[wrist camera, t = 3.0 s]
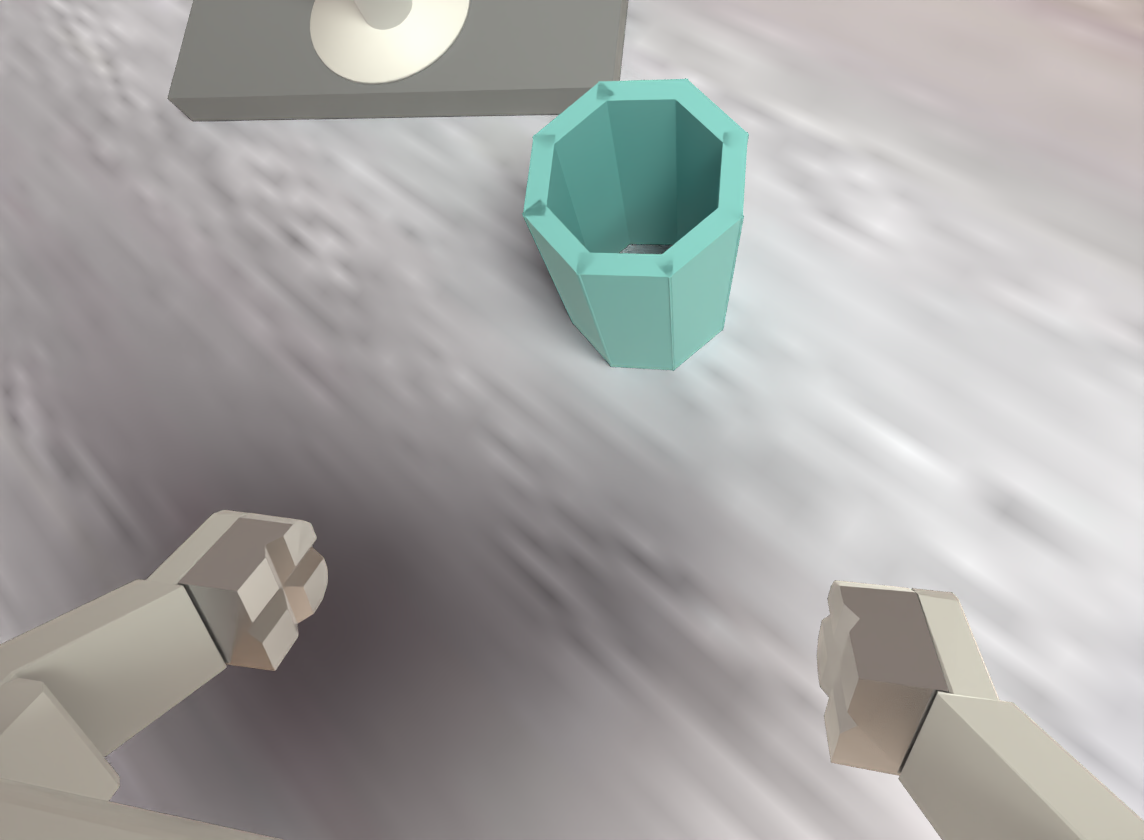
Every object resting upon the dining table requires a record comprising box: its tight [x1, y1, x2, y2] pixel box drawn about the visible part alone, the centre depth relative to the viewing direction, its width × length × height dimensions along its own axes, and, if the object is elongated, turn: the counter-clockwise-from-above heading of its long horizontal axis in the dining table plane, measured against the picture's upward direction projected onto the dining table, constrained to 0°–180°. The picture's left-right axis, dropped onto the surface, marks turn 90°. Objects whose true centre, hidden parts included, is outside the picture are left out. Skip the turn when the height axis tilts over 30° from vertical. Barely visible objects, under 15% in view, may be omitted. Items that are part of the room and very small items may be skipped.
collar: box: [522, 78, 749, 371], centre depth 20 cm, size 6×6×8 cm
